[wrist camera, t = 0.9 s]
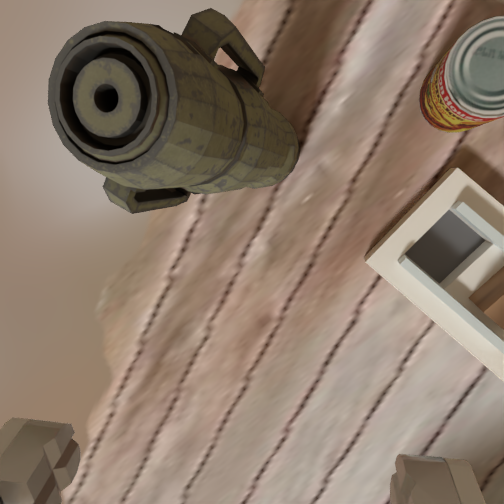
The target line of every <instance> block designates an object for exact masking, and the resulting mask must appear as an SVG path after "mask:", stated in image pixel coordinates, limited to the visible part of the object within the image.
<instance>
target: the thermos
mask: <svg viewBox="0 0 504 504" xmlns="http://www.w3.org/2000/svg"><path fill="white" fill-rule="evenodd" d="M220 47H221V48H222V49H223V50H224V52H225V53H226V54H227V55H228V56H229V57H230V58H231V59H232V60H233V61H234V62H235V63H236V65H237V66H239V67H238V70H237V71H235V70H232V69H228V68H226V67H224V66H222V65H218V64H217V63H216V62H215V61H214V58H215V56H216V53H217V51H218V48H220ZM264 69H265V66H264V65H263V64H262V63H261V61H260V60H259V59H258V57H257V56H256V54H255V53H254V52H253V50H252V49H251V47H250V46H249V45H248V43H247V42H246V40H245V39H244V38H243V36H242V35H241V33H240V32H239V30H238V29H237V28H236V26H235V25H234V24H233V23H232V22H231V21H230V20H229V19H228V18H227V17H226V16H225V15H223V14H221V13H219V12H217V11H216V10H213V9H212V8H210V9H207V10H204V11H201V12H199V13H196V14H193V15H191V17H190V19H189V21H188V23H187V25H186V27H185V29H184V31H183V33H182V35H179V34H177V33H174V34H173V33H171V32H169V31H167V30H165V29H163V28H162V27H160V26H159V25H153V24H142V23H132V22H112V21H104V22H101V23H97V24H94V25H91V26H87V27H84V28H83V29H82V30H80V31H79V32H78V33H77V34H75V35H74V36H73V37H71V38H70V39H69V40H68V41H67V42H66V44H65V45H64V47H63V48H62V50H61V51H60V53H59V54H58V56H57V57H56V58H55V62H54V65H53V68H52V71H51V75H50V78H49V90H48V105H49V109H50V114H51V118H52V123H53V126H54V128H55V130H56V132H57V133H58V135H59V137H60V139H61V141H62V143H63V145H64V146H65V147H66V148H67V149H68V150H69V151H70V152H71V153H72V154H73V155H74V156H75V157H76V158H77V159H78V160H79V161H81V162H82V163H84V164H85V165H87V166H89V167H90V168H92V169H93V170H95V171H96V172H98V173H100V174H102V175H104V176H106V180H105V182H104V185H103V188H104V190H105V192H106V194H107V196H108V198H109V200H110V201H111V202H113V203H114V204H116V205H118V206H120V207H121V208H123V209H125V210H127V211H128V212H130V213H132V214H134V213H139V212H144V211H150V210H156V209H162V208H167V207H173V206H177V205H179V204H181V203H184V202H186V201H187V200H188V198H189V196H190V194H191V193H193V194H201V193H202V194H211V193H219V192H226V191H232V190H238V189H242V188H244V187H249V188H261V187H267V186H273V185H274V184H276V183H278V182H280V181H282V180H284V179H285V178H286V177H287V176H288V175H289V174H290V173H291V172H292V171H293V169H294V167H295V165H296V163H297V161H298V156H299V150H300V149H299V142H298V137H297V135H296V133H295V131H294V129H293V127H292V125H291V124H290V123H289V122H288V121H287V120H286V119H285V118H284V117H283V116H282V115H281V114H280V113H279V112H277V111H275V110H273V109H271V108H270V107H269V105H268V102H267V101H266V100H265V99H264V98H263V95H264V94H263V93H262V91H261V90H260V89H259V86H260V84H261V81H262V77H263V73H264Z"/></svg>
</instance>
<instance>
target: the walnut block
mask: <svg viewBox="0 0 504 504" xmlns="http://www.w3.org/2000/svg"><path fill="white" fill-rule="evenodd" d="M469 299H470V300H471V301H472V302H473V303H474V304H475V305H476V306H477V307H478V308H479V309H480V310H481V311H482V312H483V313H485V314H486V315H487V316H488V317H489V318H490V319H492V320H493V321H494V322H495V323H496V324H497V325H499V326H500V327H501V328H502V329H503V330H504V266H503V267H502V268H501V269H500V270H499V271H498V272H497V273H495V274H494V275H493V276H492V277H491V278H490V279H489V280H488V281H487V282H485V283H484V284H483V285H482V286H481V287H480V288H479V289H478V290H477V291H475V292H474V293H473V294H472V295H471V296H470V297H469Z"/></svg>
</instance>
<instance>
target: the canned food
mask: <svg viewBox="0 0 504 504" xmlns="http://www.w3.org/2000/svg"><path fill="white" fill-rule="evenodd" d="M419 105H420V110H421V112H422V114H423V117H424V119H425V120H426V121H427V122H428V123H429V124H430V125H431V126H433V127H434V128H436V129H438V130H440V131H444V132H462V131H466V130H469V129H472V128H474V127H477V126H480V125H483V124H485V123H488V122H491V121H493V120H496V119H499V118H502V117H504V16H495V17H492V18H489V19H486V20H482V21H481V22H479V23H477V24H475V25H474V26H472V27H470V28H469V29H468V30H467V31H466V32H465V33H464V34H463V35H462V36H460V37H459V38H458V40H457V41H456V42H455V43H454V44H453V45H452V47H451V48H450V49H449V50H448V51H447V53H446V54H445V55H444V56H443V57H442V59H441V60H440V61H439V62H438V63H437V65H436V66H435V67H434V68H433V69H432V71H431V72H430V73H429V74H428V76H427V77H426V79H425V80H424V82H423V84H422V87H421V90H420V95H419Z"/></svg>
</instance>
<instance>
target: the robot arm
mask: <svg viewBox="0 0 504 504" xmlns="http://www.w3.org/2000/svg"><path fill="white" fill-rule="evenodd" d="M73 434H74V430H73V427H72V425H71V424H68V423H58V422H50V421H41V420H33V419H23V418H12V419H10V420H9V421H7V422H6V423H5V424H4V425H3V427H2V428H1V429H0V504H61V502H62V497H61V491H62V490H63V489H65V488H66V487H67V486H68V485H70V484H71V483H72V481H73V479H74V477H75V475H76V473H77V470H78V466H79V463H80V448H79V445H78V443H77V442H75V441H74V440H73V439H72V436H73ZM395 466H396V471H397V472H396V473H395V474H393V475H392V478H391V483H390V501H391V504H486V502H485V500H484V497H483V495H482V492H481V490H480V487H479V485H478V482H477V480H476V477H475V475H474V472H473V470H472V467H471V465H470V464H469V463H468V462H467V461H466V460H460V459H445V458H442V457H431V456H418V455H405V454H399V455H398V456H397V458H396V462H395Z"/></svg>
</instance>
